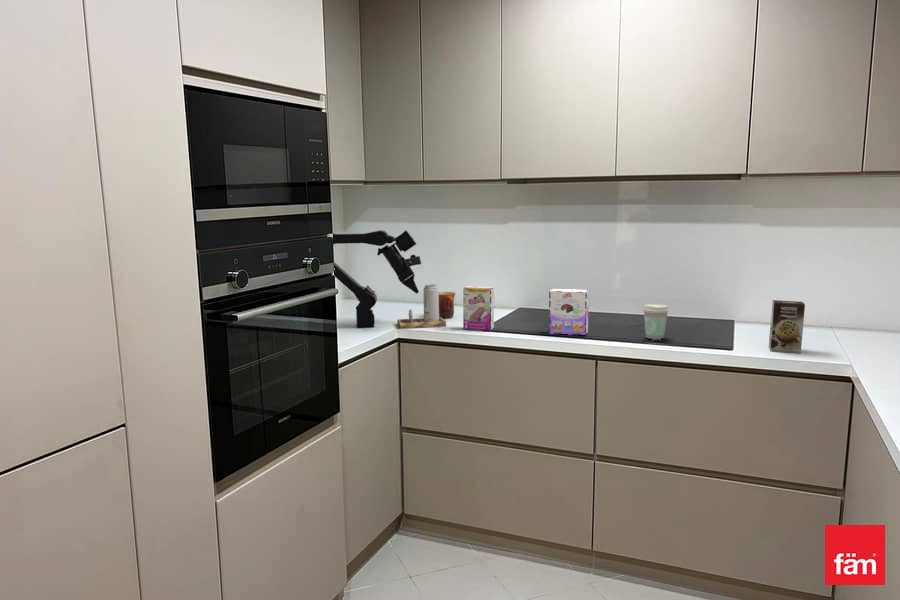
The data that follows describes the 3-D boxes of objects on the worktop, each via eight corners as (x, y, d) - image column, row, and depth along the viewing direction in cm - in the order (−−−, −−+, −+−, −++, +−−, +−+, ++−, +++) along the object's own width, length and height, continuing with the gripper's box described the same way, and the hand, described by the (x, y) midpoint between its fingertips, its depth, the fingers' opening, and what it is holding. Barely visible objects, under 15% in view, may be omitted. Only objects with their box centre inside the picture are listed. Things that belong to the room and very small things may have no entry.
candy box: (588, 333, 245) (589, 289, 242) (585, 336, 239) (587, 291, 237) (551, 331, 249) (552, 287, 247) (548, 334, 244) (548, 290, 241)
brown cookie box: (770, 351, 215) (773, 302, 212) (768, 347, 221) (771, 299, 218) (801, 353, 211) (805, 304, 209) (798, 349, 217) (802, 300, 215)
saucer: (410, 324, 258) (410, 310, 257) (408, 322, 263) (408, 308, 262) (412, 324, 258) (412, 310, 257) (410, 322, 263) (410, 308, 263)
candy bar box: (462, 329, 253) (462, 287, 250) (466, 327, 257) (466, 285, 255) (491, 331, 249) (491, 288, 247) (494, 328, 254) (494, 286, 251)
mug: (432, 316, 281) (431, 292, 279) (451, 314, 284) (450, 291, 282) (442, 321, 270) (441, 296, 268) (461, 319, 273) (461, 295, 271)
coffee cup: (639, 336, 239) (640, 303, 237) (663, 336, 238) (664, 303, 236) (645, 341, 230) (646, 307, 228) (670, 341, 230) (671, 307, 228)
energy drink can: (422, 321, 264) (421, 284, 262) (436, 320, 266) (435, 283, 264) (426, 324, 259) (426, 286, 256) (441, 323, 261) (440, 285, 258)
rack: (400, 328, 255) (400, 323, 255) (397, 324, 264) (397, 319, 264) (446, 326, 259) (446, 321, 259) (441, 322, 268) (441, 317, 268)
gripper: (413, 247, 248) (436, 282, 250) (411, 246, 266) (432, 278, 269) (388, 264, 248) (411, 298, 250) (388, 262, 266) (409, 294, 268)
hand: (417, 291), depth 259 cm, fingers open, 9 cm apart
